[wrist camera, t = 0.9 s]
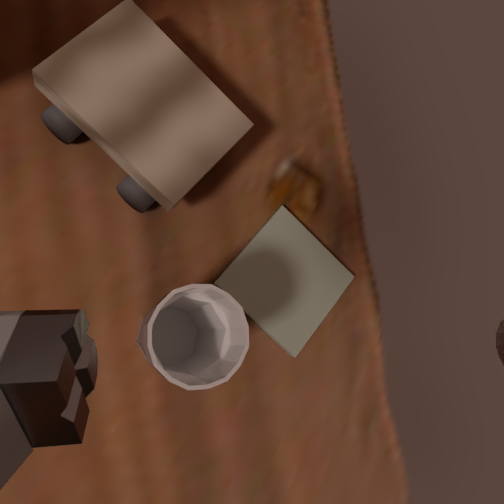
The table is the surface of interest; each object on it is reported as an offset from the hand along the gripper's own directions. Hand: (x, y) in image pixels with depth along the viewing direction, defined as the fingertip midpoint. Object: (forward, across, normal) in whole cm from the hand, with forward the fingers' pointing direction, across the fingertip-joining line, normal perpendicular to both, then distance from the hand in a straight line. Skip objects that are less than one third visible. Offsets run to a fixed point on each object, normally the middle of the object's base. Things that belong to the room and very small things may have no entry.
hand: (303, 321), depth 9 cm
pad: (+27, -4, +24) cm, 36 cm away
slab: (+34, +8, +11) cm, 37 cm away
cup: (+21, +6, +24) cm, 33 cm away
